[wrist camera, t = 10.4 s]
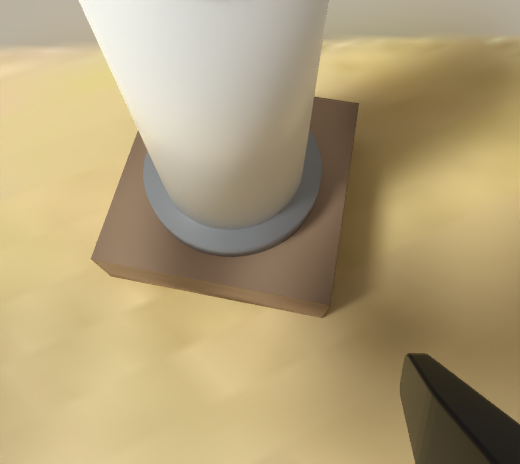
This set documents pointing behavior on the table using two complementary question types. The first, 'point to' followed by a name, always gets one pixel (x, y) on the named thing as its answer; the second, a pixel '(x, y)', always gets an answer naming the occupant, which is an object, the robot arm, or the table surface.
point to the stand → (245, 267)
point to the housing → (220, 112)
